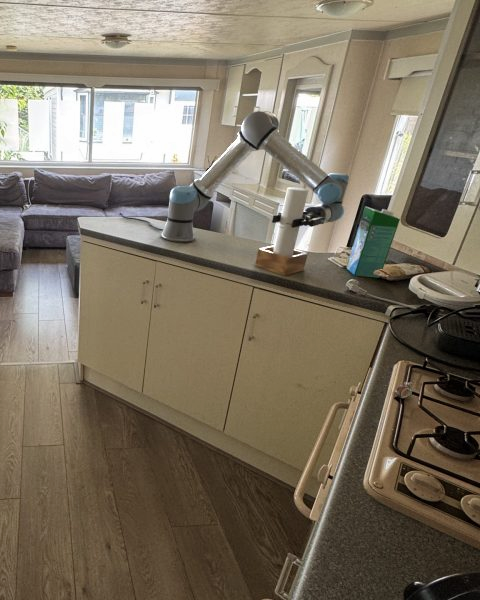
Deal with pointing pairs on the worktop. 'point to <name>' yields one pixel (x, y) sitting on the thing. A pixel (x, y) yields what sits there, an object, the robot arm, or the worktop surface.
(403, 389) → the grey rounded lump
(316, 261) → the worktop surface
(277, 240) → the cylindrical container
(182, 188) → the robot arm
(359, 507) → the worktop surface
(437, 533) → the worktop surface
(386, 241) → the milk carton
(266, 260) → the holder
